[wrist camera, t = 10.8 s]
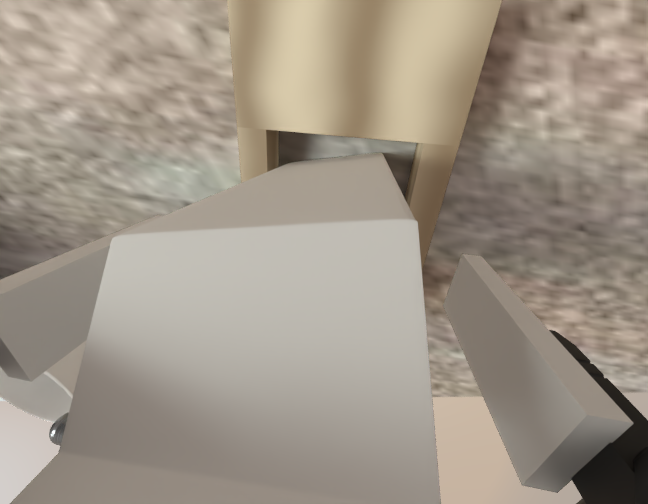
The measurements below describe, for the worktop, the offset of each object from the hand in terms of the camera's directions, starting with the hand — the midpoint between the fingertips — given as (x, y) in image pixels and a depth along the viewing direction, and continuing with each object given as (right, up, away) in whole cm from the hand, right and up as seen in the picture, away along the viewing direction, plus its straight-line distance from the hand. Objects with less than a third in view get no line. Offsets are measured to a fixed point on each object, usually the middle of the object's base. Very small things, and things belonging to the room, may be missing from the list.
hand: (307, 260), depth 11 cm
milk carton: (+2, +4, +9) cm, 10 cm away
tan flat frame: (+2, +6, +8) cm, 10 cm away
